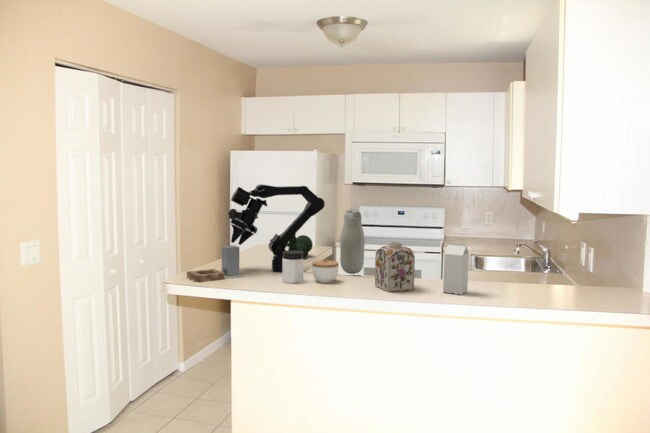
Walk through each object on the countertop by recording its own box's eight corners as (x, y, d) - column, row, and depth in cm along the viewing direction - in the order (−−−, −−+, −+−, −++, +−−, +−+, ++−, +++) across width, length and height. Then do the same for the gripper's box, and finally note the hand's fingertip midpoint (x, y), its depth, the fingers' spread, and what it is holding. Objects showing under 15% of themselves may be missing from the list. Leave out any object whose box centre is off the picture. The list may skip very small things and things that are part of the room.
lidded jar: (307, 282, 234) (307, 259, 233) (318, 277, 244) (319, 255, 243) (331, 285, 230) (331, 261, 229) (342, 280, 239) (342, 257, 238)
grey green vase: (367, 273, 255) (369, 209, 252) (352, 276, 247) (354, 210, 245) (350, 270, 261) (352, 208, 259) (335, 273, 254) (336, 209, 251)
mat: (235, 273, 250) (235, 272, 250) (243, 276, 244) (243, 275, 244) (217, 274, 246) (217, 274, 246) (225, 278, 239) (225, 277, 239)
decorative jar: (400, 284, 234) (401, 239, 232) (414, 290, 223) (416, 243, 221) (373, 286, 229) (374, 240, 228) (387, 292, 218) (388, 245, 217)
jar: (290, 284, 230) (291, 254, 229) (277, 280, 236) (278, 251, 235) (307, 281, 236) (308, 252, 235) (294, 278, 242) (294, 249, 241)
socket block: (214, 274, 247) (214, 268, 246) (224, 279, 237) (224, 273, 237) (186, 277, 240) (186, 271, 240) (196, 282, 231) (196, 276, 231)
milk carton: (461, 295, 216) (463, 244, 214) (442, 292, 219) (444, 242, 218) (467, 291, 222) (469, 242, 220) (449, 289, 225) (451, 240, 224)
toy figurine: (300, 266, 278) (317, 254, 302) (299, 227, 275) (316, 218, 298) (282, 265, 281) (299, 252, 304) (281, 226, 278) (299, 217, 301)
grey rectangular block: (233, 273, 248) (233, 245, 247) (239, 275, 244) (239, 247, 243) (221, 274, 245) (221, 246, 244) (227, 276, 241) (227, 248, 240)
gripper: (243, 206, 263) (227, 237, 262) (228, 199, 245) (212, 232, 244) (264, 217, 260) (248, 248, 259) (251, 210, 242) (234, 244, 241)
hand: (235, 243), depth 251 cm, fingers open, 9 cm apart
